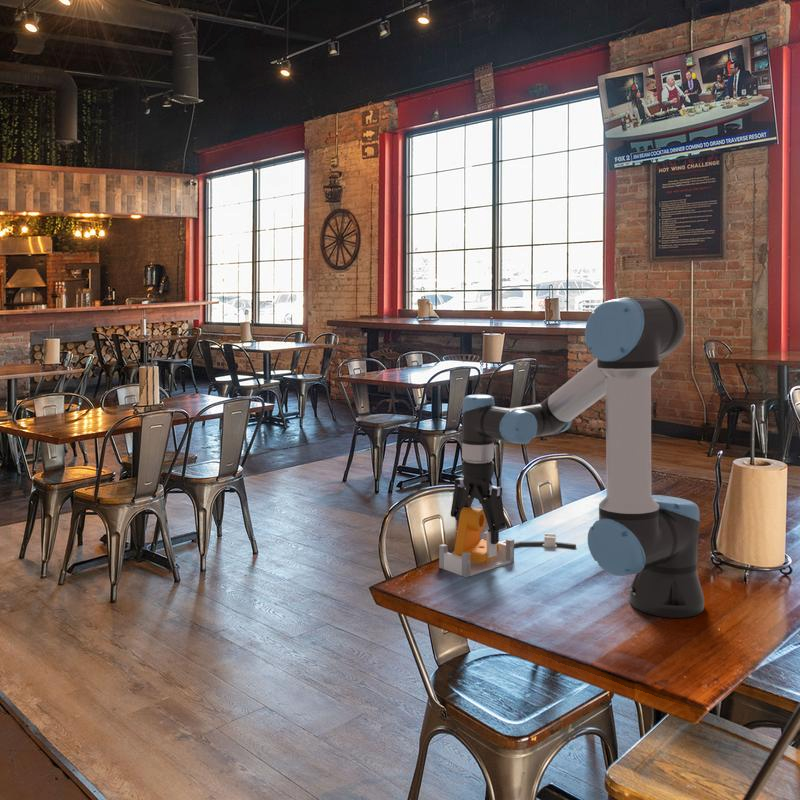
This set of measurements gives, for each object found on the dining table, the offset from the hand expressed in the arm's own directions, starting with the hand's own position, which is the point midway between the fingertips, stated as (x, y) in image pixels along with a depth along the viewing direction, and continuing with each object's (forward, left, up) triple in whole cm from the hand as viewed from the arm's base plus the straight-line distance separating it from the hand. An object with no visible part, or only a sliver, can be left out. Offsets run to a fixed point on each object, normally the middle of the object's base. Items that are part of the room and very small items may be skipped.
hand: (477, 551), depth 203 cm
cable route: (-1, -19, -3) cm, 19 cm away
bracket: (0, 0, -2) cm, 2 cm away
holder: (0, 0, -3) cm, 3 cm away
